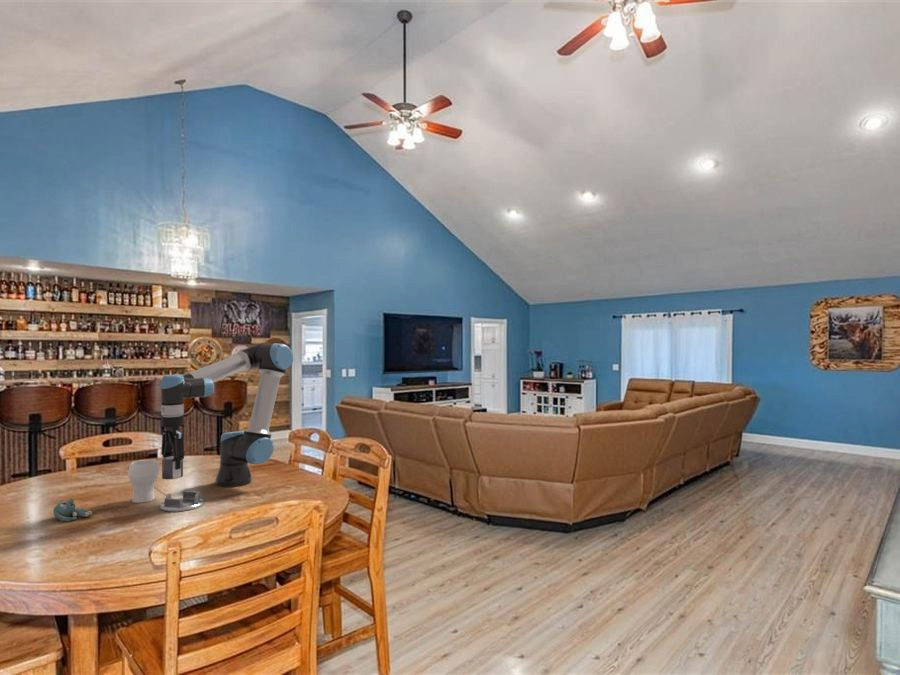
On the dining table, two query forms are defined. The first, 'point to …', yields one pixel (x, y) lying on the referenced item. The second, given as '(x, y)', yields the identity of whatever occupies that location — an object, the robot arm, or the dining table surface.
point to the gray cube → (169, 468)
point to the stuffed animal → (69, 511)
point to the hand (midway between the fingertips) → (172, 475)
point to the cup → (143, 479)
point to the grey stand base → (182, 502)
